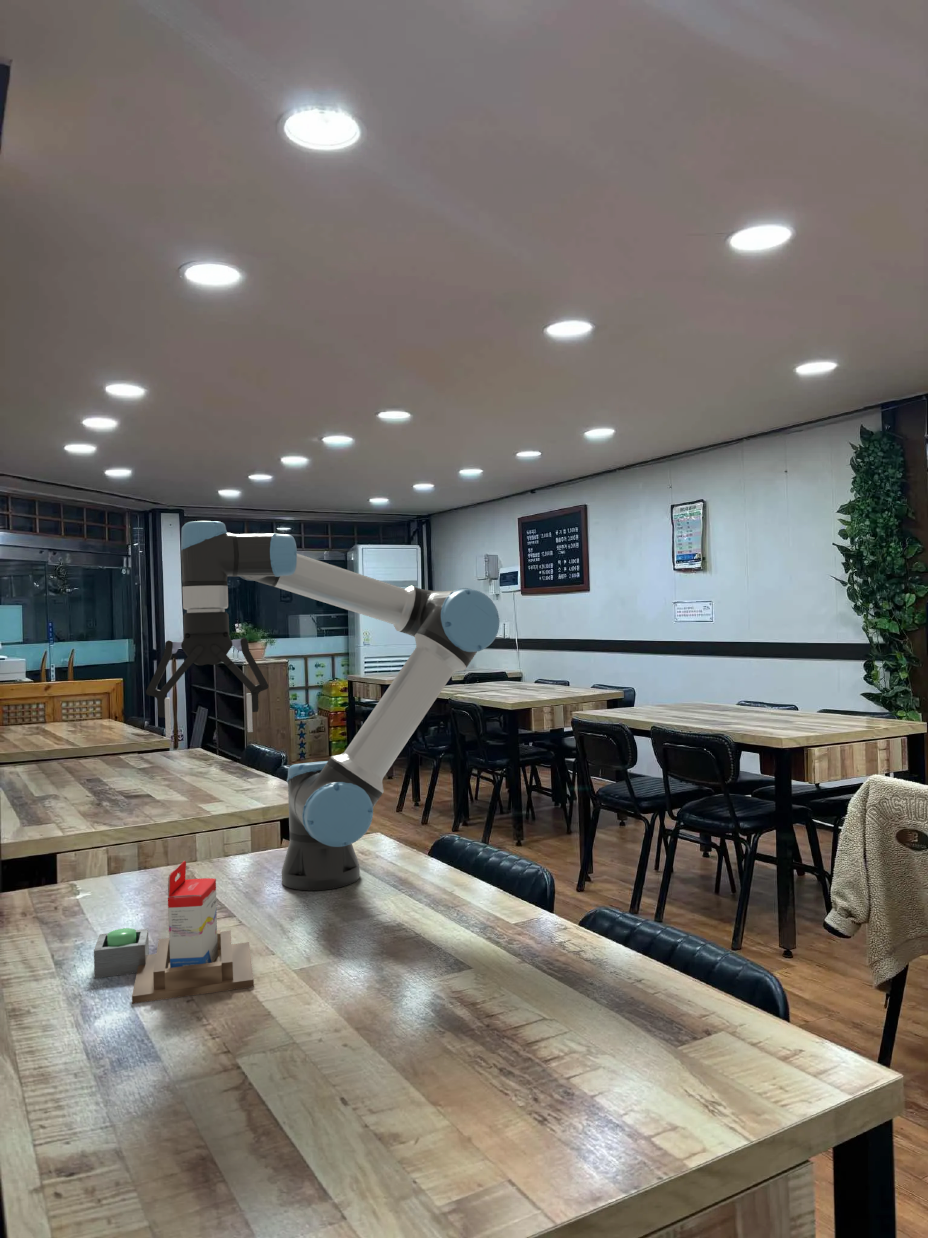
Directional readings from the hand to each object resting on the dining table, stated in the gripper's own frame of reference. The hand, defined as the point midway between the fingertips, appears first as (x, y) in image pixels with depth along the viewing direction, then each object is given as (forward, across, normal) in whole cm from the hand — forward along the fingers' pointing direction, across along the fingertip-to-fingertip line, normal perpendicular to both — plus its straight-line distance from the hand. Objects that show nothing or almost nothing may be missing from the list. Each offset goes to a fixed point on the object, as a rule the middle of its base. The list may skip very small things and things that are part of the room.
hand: (209, 734), depth 154 cm
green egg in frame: (+32, +14, +18) cm, 39 cm away
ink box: (+31, +3, +25) cm, 40 cm away
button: (+29, +14, +18) cm, 37 cm away
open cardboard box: (+32, +3, +25) cm, 40 cm away
